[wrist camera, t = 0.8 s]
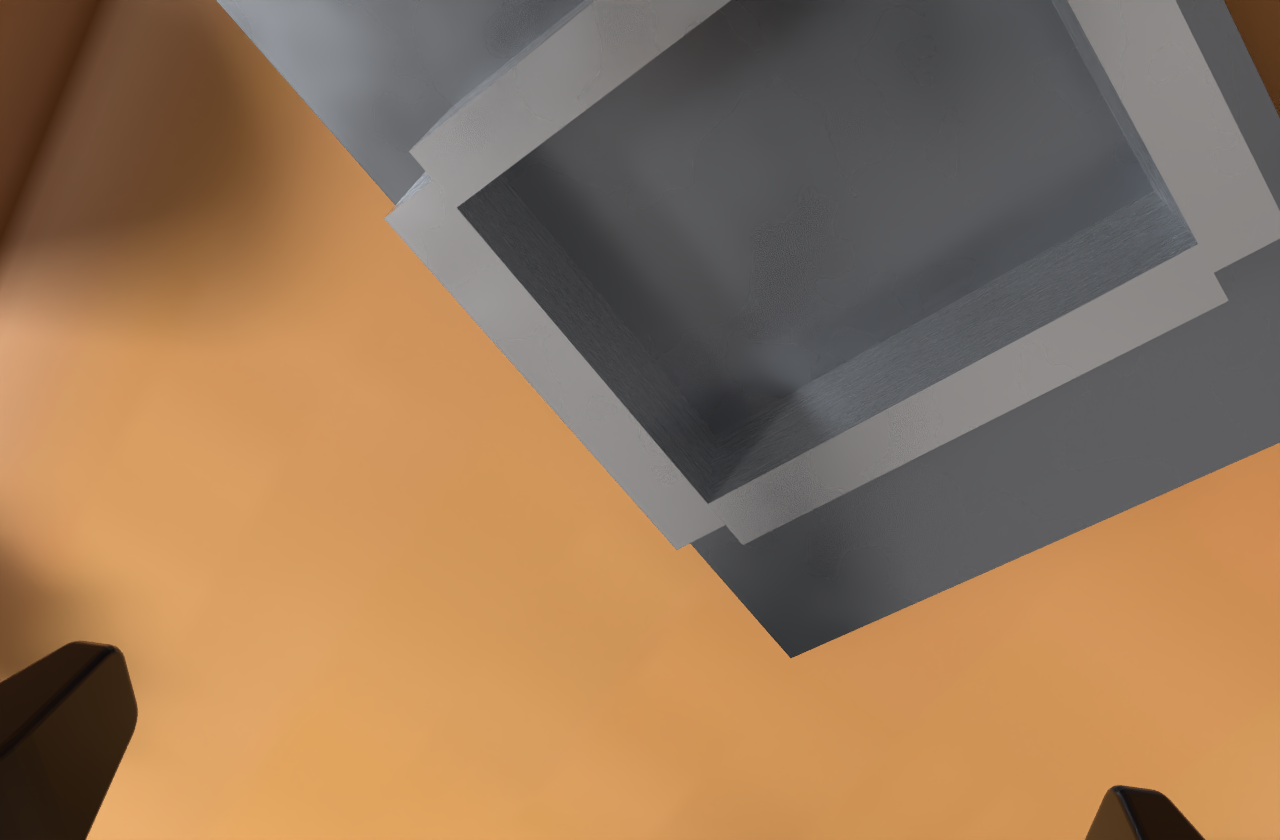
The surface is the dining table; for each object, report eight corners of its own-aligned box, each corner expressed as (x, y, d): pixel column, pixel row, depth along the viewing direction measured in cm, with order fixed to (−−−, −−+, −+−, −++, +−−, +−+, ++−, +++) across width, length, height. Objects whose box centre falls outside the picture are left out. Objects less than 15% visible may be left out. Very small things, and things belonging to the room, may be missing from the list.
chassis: (1387, 366, 21) (1477, 458, 18) (790, 635, 27) (790, 737, 24) (852, -750, 14) (866, -875, 11) (190, -60, 20) (91, -29, 17)
